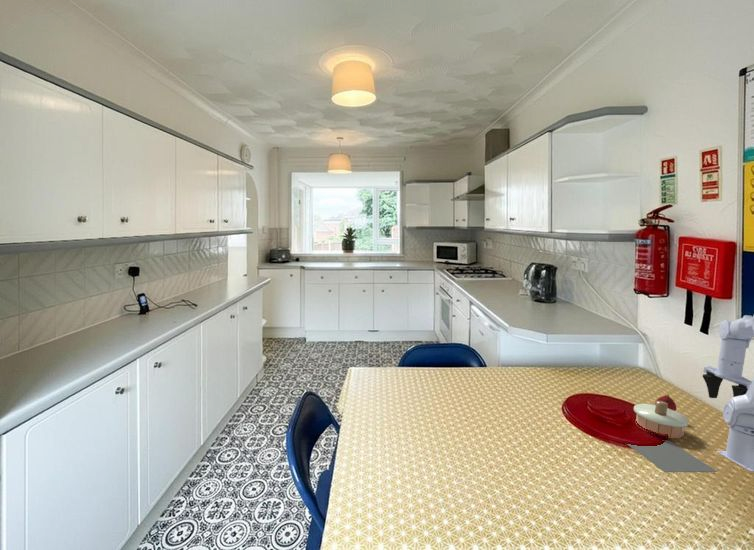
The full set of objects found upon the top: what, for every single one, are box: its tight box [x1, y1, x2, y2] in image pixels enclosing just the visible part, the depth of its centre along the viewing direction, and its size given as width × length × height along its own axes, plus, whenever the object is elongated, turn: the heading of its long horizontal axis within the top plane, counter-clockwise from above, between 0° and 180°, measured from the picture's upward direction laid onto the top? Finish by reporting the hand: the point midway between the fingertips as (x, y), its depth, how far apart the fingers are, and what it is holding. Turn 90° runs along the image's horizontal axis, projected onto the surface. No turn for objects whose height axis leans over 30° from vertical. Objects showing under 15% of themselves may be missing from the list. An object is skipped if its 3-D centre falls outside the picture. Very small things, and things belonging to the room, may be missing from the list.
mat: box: [626, 440, 718, 473], centre depth 106 cm, size 15×15×1 cm
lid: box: [633, 400, 690, 428], centre depth 122 cm, size 14×14×4 cm
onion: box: [654, 393, 677, 412], centre depth 132 cm, size 6×6×8 cm
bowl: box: [635, 413, 686, 439], centre depth 122 cm, size 12×12×4 cm
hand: (724, 402), depth 120 cm, fingers open, 7 cm apart
